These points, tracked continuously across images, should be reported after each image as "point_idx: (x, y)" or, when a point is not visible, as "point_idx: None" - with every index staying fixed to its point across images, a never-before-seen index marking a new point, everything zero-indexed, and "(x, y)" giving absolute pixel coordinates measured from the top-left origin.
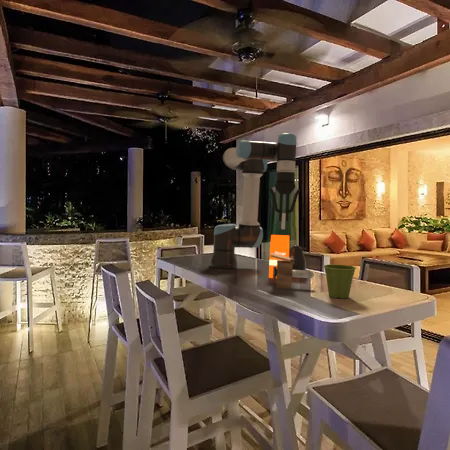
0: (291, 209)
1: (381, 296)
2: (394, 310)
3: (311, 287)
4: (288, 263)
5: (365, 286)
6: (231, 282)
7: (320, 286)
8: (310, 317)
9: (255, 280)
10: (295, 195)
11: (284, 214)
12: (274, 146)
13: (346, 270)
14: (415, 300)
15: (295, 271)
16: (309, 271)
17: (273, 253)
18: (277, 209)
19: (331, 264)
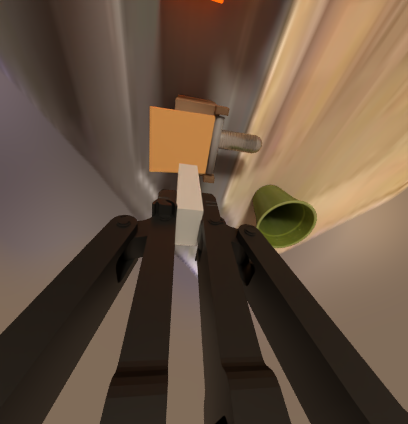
0: (238, 268)
1: (337, 186)
2: (295, 246)
3: (250, 132)
4: (198, 174)
5: (384, 98)
6: (63, 102)
7: (275, 117)
8: (196, 275)
9: (120, 55)
10: (316, 414)
11: (188, 241)
12: None
13: (281, 244)
14: (368, 202)
15: (219, 147)
16: (251, 150)
17: (159, 116)
18: (133, 260)
19: (286, 202)
